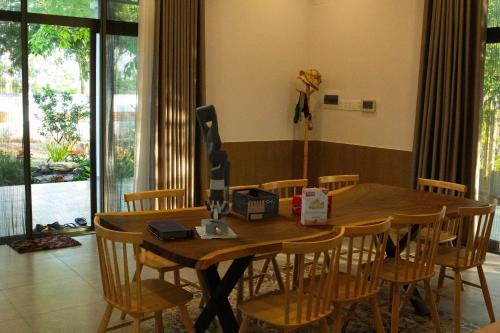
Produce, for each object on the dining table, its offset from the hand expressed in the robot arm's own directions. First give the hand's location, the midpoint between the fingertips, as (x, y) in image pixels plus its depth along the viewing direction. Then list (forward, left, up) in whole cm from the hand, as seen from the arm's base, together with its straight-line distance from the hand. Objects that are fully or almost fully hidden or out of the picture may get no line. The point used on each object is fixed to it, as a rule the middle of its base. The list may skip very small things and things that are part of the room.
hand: (216, 219), depth 302 cm
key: (0, 0, -5) cm, 5 cm away
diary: (-1, -25, -8) cm, 26 cm away
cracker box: (-8, +59, -7) cm, 60 cm away
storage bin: (-42, +33, -7) cm, 54 cm away
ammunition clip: (-22, +28, -7) cm, 37 cm away
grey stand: (+3, -1, -7) cm, 7 cm away
